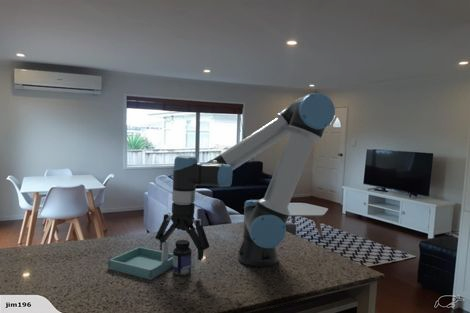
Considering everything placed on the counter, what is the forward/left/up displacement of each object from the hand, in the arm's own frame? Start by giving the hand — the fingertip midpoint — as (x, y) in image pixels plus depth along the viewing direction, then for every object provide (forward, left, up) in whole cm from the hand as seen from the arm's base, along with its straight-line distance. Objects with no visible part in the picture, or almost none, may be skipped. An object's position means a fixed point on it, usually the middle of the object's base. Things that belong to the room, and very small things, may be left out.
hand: (180, 264), depth 117 cm
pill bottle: (-1, 0, -3) cm, 3 cm away
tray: (+14, +1, -3) cm, 15 cm away
